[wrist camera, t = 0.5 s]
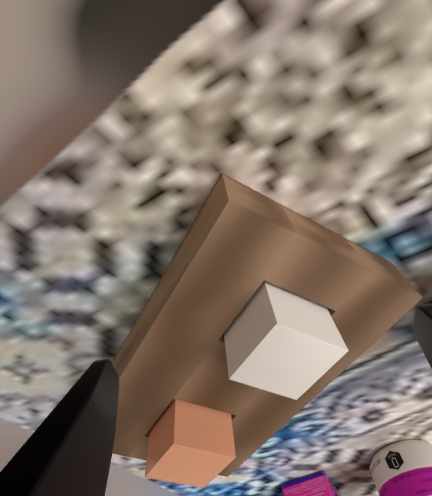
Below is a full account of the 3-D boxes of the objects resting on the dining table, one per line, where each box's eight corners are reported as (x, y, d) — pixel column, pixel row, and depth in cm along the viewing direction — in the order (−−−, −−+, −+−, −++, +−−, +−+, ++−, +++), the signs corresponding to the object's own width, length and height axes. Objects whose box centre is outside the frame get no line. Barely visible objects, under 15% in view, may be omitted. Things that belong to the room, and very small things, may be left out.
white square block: (326, 307, 21) (348, 350, 18) (283, 354, 23) (296, 400, 20) (264, 280, 20) (277, 323, 17) (223, 333, 22) (228, 379, 19)
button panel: (390, 261, 24) (423, 297, 21) (224, 433, 34) (227, 476, 31) (222, 173, 20) (228, 200, 16) (90, 400, 30) (77, 446, 27)
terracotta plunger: (230, 410, 26) (235, 457, 23) (202, 441, 28) (203, 488, 25) (175, 395, 25) (173, 443, 22) (149, 429, 27) (144, 477, 24)
